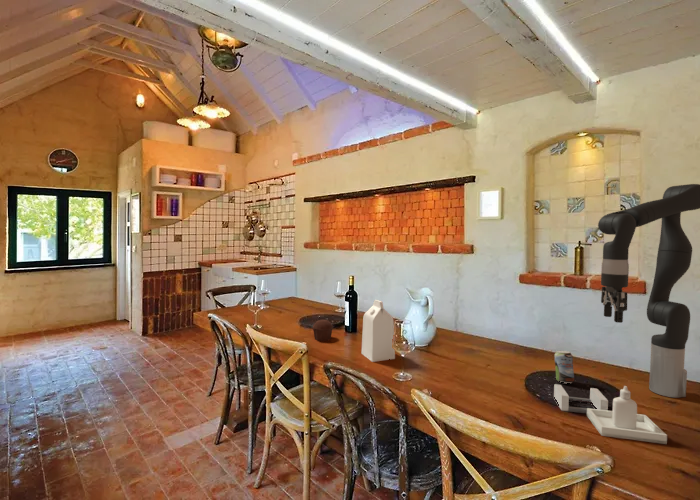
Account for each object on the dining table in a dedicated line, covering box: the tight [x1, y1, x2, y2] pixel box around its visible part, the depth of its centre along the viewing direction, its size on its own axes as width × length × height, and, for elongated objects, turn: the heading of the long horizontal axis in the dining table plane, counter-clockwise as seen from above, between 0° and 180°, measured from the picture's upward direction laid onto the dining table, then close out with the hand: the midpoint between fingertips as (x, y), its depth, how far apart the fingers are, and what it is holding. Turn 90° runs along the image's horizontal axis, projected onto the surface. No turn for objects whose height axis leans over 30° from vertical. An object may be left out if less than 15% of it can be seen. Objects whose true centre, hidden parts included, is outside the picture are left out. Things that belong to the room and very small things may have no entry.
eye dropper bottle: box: [611, 385, 638, 429], centre depth 107 cm, size 4×6×12 cm
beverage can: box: [554, 350, 575, 384], centre depth 141 cm, size 6×7×12 cm
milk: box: [361, 299, 396, 363], centre depth 169 cm, size 12×12×26 cm
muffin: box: [312, 319, 334, 342], centre depth 197 cm, size 12×11×10 cm
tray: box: [586, 407, 668, 445], centre depth 107 cm, size 16×12×2 cm
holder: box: [553, 383, 609, 414], centre depth 121 cm, size 13×9×5 cm
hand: (612, 319), depth 125 cm, fingers open, 8 cm apart
